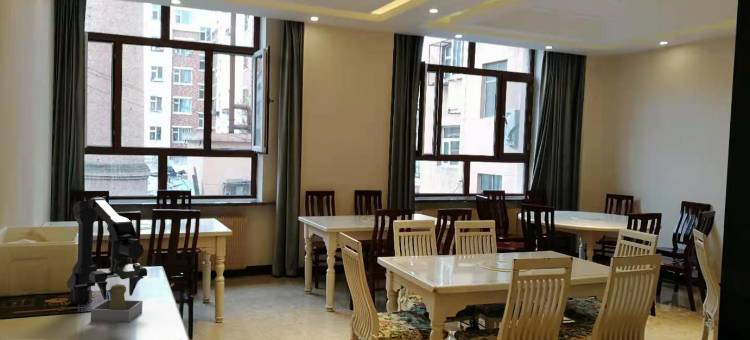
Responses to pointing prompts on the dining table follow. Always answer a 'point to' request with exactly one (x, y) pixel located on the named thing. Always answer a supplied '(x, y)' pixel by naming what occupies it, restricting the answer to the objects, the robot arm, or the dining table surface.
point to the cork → (117, 297)
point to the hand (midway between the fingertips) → (118, 297)
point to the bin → (116, 312)
